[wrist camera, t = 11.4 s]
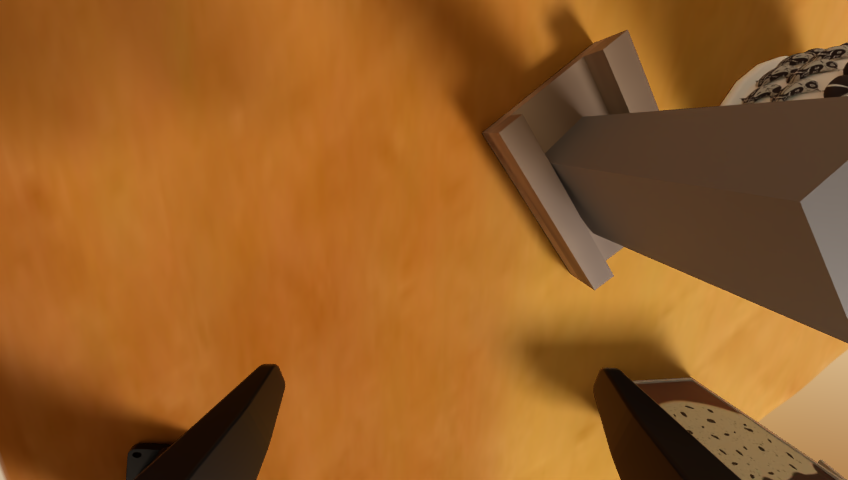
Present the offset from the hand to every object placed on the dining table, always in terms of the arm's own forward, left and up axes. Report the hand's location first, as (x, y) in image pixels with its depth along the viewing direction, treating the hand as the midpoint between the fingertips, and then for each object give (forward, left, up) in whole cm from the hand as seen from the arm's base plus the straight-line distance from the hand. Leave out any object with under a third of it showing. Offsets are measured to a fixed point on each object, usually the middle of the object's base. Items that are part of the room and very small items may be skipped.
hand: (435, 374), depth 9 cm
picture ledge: (+7, -10, -12) cm, 17 cm away
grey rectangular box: (+7, -10, -11) cm, 16 cm away
